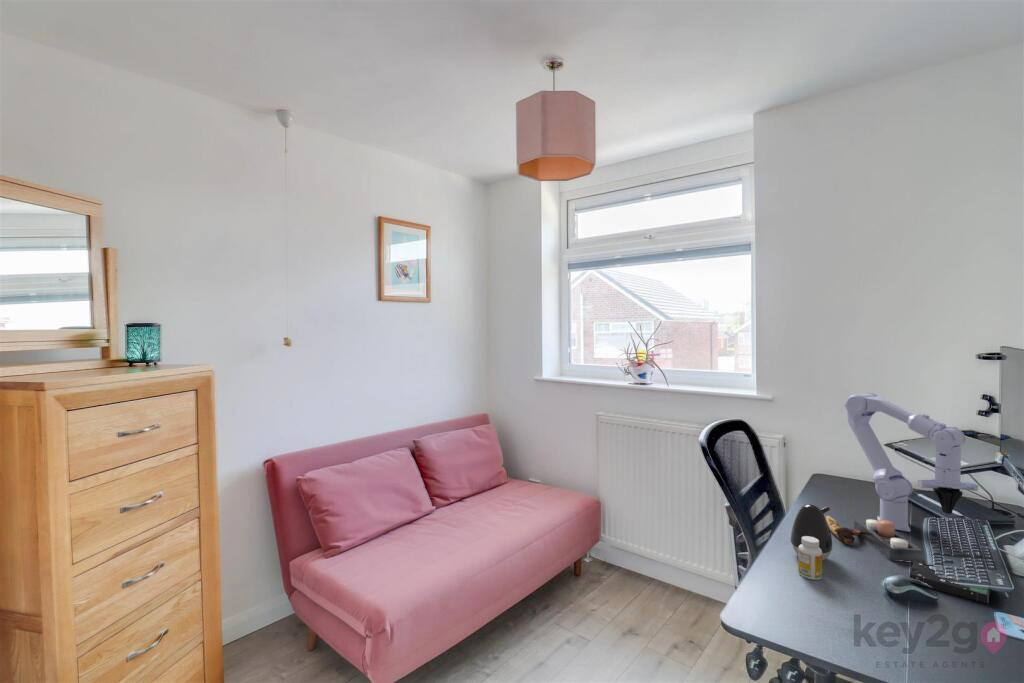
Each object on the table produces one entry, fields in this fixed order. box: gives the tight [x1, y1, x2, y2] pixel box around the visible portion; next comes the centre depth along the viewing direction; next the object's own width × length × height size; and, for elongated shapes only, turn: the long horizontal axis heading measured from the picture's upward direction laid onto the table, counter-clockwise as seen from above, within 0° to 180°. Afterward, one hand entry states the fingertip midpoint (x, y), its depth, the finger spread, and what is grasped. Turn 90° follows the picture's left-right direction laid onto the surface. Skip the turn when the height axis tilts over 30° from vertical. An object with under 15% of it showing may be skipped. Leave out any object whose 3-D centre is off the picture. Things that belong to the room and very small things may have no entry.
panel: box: [853, 519, 924, 563], centre depth 146 cm, size 21×8×4 cm, turn 168°
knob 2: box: [890, 538, 908, 548], centre depth 139 cm, size 4×4×4 cm
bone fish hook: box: [824, 515, 861, 546], centre depth 154 cm, size 9×5×18 cm
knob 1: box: [865, 518, 878, 528], centre depth 153 cm, size 4×4×4 cm
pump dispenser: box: [790, 503, 834, 562], centre depth 139 cm, size 10×10×15 cm
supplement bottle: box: [797, 536, 823, 581], centre depth 129 cm, size 5×5×10 cm
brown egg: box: [877, 519, 896, 538], centre depth 146 cm, size 4×4×4 cm
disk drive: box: [908, 561, 990, 604], centre depth 124 cm, size 10×3×15 cm
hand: (947, 512), depth 147 cm, fingers closed
